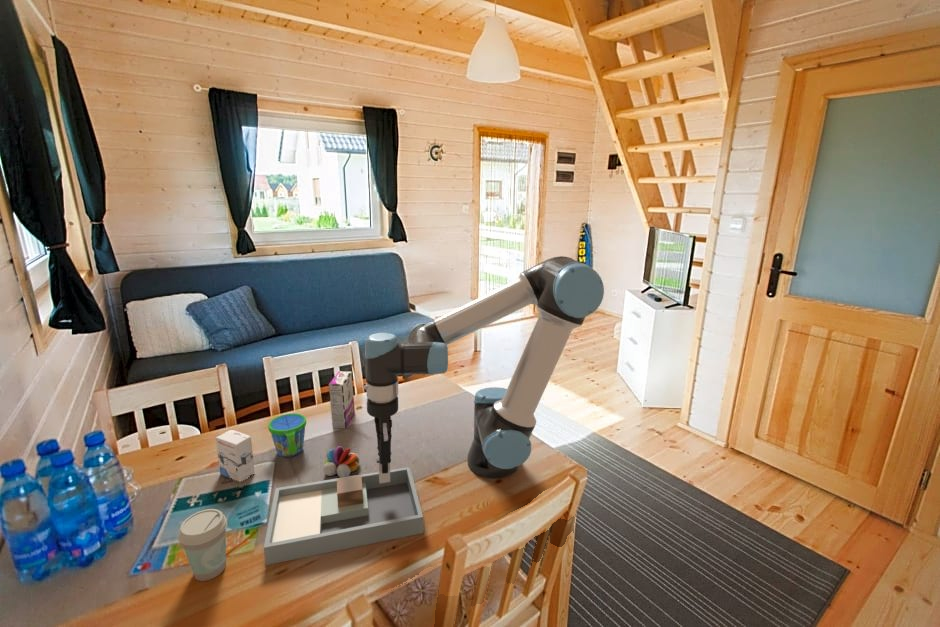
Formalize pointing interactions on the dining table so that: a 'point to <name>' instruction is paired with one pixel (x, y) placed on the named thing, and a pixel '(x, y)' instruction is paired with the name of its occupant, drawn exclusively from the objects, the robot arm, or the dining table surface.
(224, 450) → the ink box
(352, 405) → the candy bar box
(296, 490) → the box
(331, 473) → the rainbow wheeled toy
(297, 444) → the snack cup
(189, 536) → the coffee cup
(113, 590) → the dining table surface
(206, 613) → the dining table surface
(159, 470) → the dining table surface
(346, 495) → the walnut block
